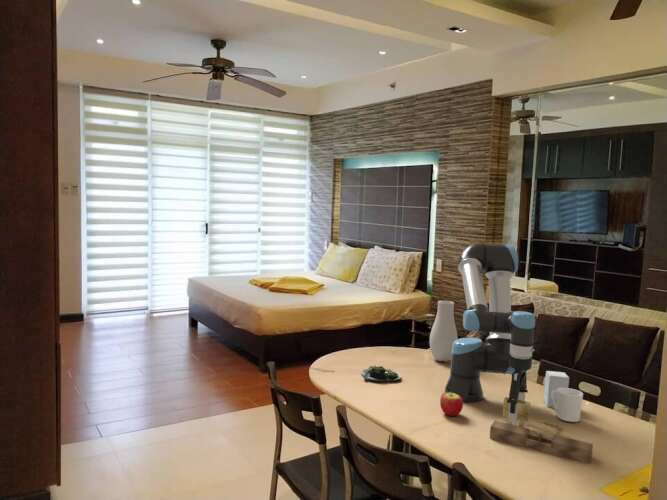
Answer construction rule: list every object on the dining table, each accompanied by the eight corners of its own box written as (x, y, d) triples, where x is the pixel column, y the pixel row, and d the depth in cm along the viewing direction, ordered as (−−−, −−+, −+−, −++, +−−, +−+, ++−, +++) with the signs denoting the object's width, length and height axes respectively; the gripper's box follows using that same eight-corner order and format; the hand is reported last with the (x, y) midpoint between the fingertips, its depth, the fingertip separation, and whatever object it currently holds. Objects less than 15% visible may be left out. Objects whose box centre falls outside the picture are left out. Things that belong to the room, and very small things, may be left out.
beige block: (502, 424, 184) (503, 399, 183) (503, 421, 186) (505, 397, 186) (526, 430, 180) (528, 404, 179) (528, 427, 182) (530, 402, 181)
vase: (428, 362, 257) (432, 302, 254) (428, 355, 270) (431, 298, 268) (457, 365, 254) (461, 305, 252) (455, 358, 268) (459, 300, 266)
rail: (489, 437, 172) (490, 426, 171) (494, 431, 177) (494, 420, 177) (590, 463, 157) (591, 451, 156) (591, 456, 162) (592, 443, 162)
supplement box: (567, 409, 202) (569, 377, 201) (546, 407, 203) (549, 375, 202) (562, 402, 209) (565, 372, 208) (543, 400, 210) (545, 370, 209)
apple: (447, 408, 196) (448, 382, 196) (467, 415, 190) (468, 388, 190) (434, 413, 191) (436, 387, 190) (454, 421, 185) (456, 393, 184)
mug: (579, 416, 195) (581, 389, 194) (582, 425, 186) (584, 397, 186) (547, 411, 198) (550, 385, 198) (549, 420, 190) (551, 392, 189)
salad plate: (353, 370, 239) (354, 360, 239) (390, 369, 243) (391, 360, 243) (365, 384, 220) (366, 373, 220) (405, 383, 224) (405, 372, 224)
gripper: (525, 366, 168) (520, 429, 170) (537, 351, 190) (533, 408, 191) (501, 361, 172) (497, 424, 173) (516, 347, 194) (512, 403, 195)
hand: (516, 415), depth 182 cm, fingers open, 13 cm apart
